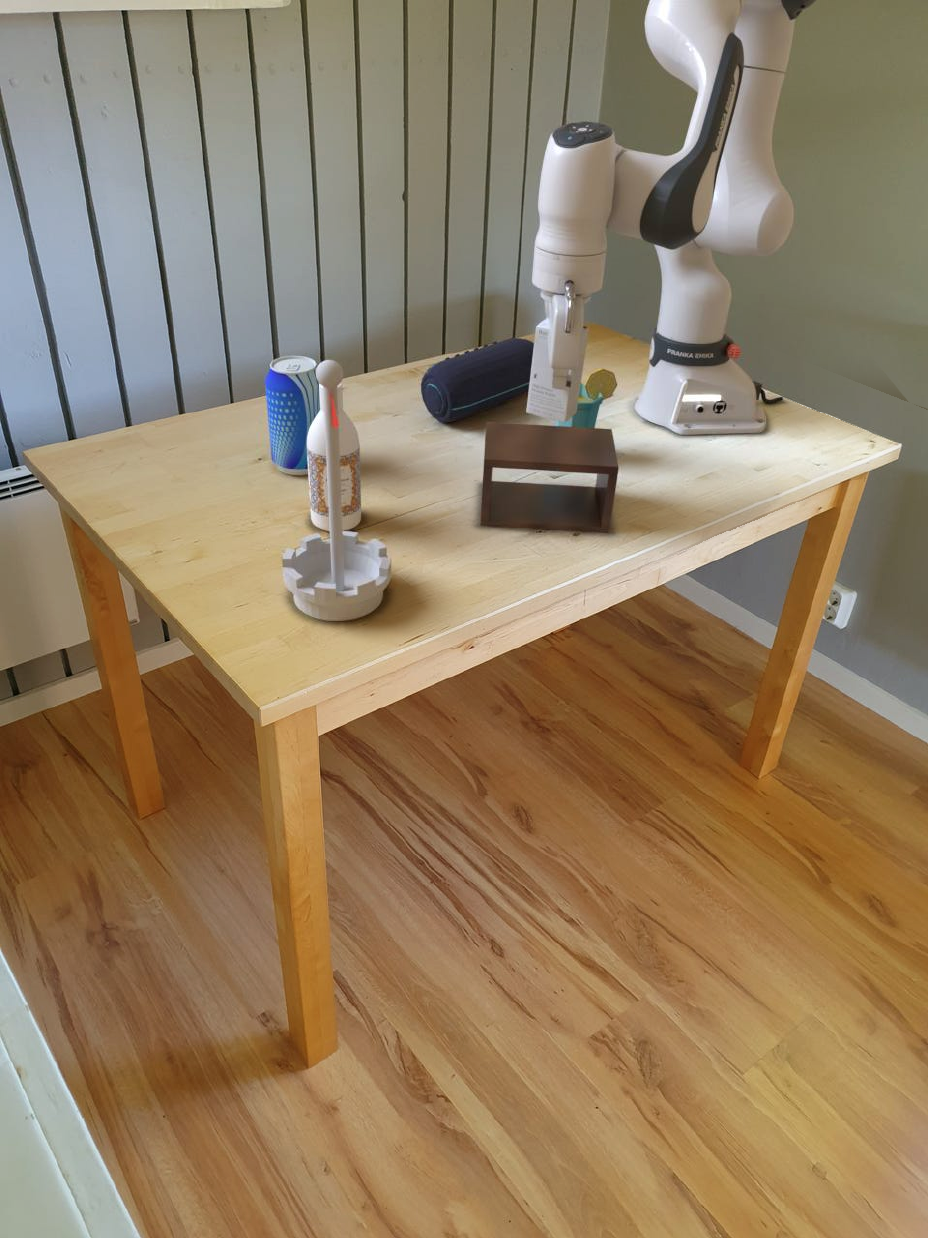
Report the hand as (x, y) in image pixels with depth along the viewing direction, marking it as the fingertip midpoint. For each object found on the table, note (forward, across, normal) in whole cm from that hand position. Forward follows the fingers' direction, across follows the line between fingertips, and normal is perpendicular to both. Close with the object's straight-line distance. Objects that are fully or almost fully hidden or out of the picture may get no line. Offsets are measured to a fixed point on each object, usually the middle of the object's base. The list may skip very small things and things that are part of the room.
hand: (557, 377), depth 127 cm
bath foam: (+20, -7, +29) cm, 36 cm away
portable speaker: (+20, +35, +10) cm, 41 cm away
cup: (+20, +17, -4) cm, 26 cm away
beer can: (+20, +9, +37) cm, 43 cm away
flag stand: (+20, -25, +26) cm, 41 cm away
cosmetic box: (+5, 0, 0) cm, 5 cm away
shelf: (+20, 0, 0) cm, 20 cm away
